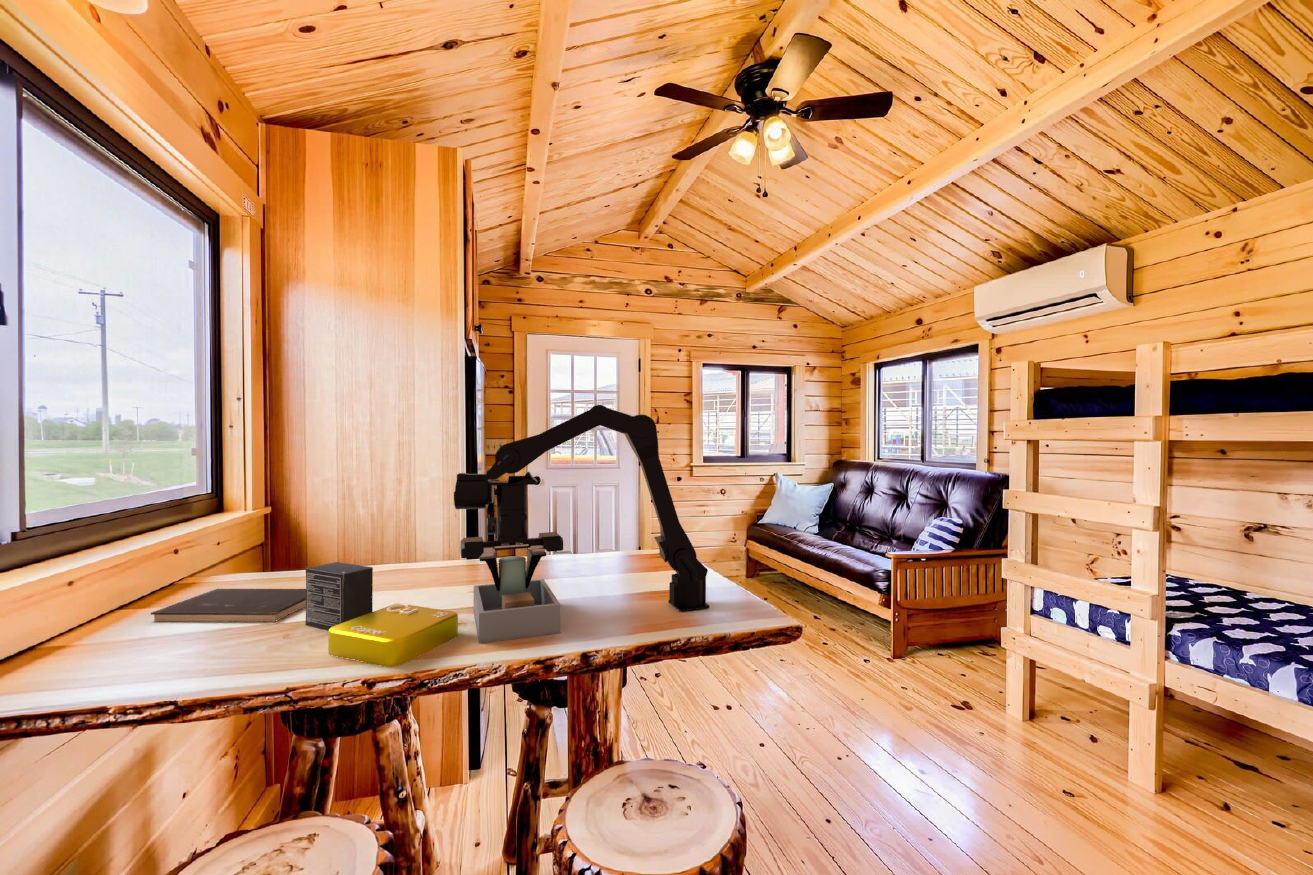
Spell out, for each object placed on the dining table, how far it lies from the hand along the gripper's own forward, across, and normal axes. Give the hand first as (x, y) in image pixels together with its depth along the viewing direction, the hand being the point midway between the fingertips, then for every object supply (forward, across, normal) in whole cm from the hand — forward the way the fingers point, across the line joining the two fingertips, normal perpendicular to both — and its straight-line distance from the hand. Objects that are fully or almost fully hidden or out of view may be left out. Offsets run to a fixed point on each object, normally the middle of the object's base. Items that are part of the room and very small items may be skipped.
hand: (512, 589), depth 107 cm
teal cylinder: (+1, 0, 0) cm, 1 cm away
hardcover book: (+6, +49, -23) cm, 54 cm away
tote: (+5, 0, +4) cm, 6 cm away
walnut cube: (+4, 0, +8) cm, 9 cm away
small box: (+5, +30, -6) cm, 31 cm away
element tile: (+6, +20, +8) cm, 22 cm away
